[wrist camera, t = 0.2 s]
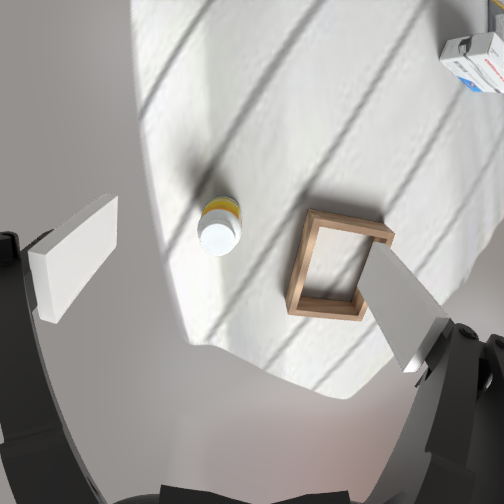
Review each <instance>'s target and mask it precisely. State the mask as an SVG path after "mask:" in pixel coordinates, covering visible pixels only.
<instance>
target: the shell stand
mask: <svg viewBox="0 0 504 504" xmlns="http://www.w3.org/2000/svg"><path fill="white" fill-rule="evenodd" d="M320 226H321V227H326V228H332V229H337V230H343V231H348V232H354V233H359V234H364V235H370V236H375V237H374V240H373V242H379V243H384V244H386V245H387V246H388V247H389V248H390V247H391V244H392V241H393V238H394V236H395V233H394V232H393V231H392V230H391V229H389V228H388V227H387V226H386V225H385V224H383V223H378V222H373V221H369V220H364V219H359V218H354V217H349V216H344V215H339V214H334V213H329V212H323V211H318V210H313V209H308V212H307V217H306V221H305V225H304V229H303V233H302V237H301V241H300V245H299V249H298V253H297V257H296V260H295V264H294V268H293V272H292V276H291V279H290V283H289V287H288V291H287V294H286V298H285V302H286V307H287V312H288V315H297V316H307V317H317V318H328V319H339V320H351V321H362V319H363V317H364V314H365V312H366V309H367V307H368V305H367V303H366V301H365V300H364V298H363V296H362V294H361V293H360V291H359V289H358V287H357V288H356V291H355V294H354V296H353V299H352V301H351V302H346V301H337V300H328V299H319V298H310V297H301V296H300V295H301V291H302V288H303V285H304V281H305V278H306V274H307V271H308V267H309V264H310V260H311V256H312V253H313V249H314V245H315V242H316V238H317V234H318V231H319V227H320ZM372 245H373V243H372ZM371 248H372V246H371ZM370 250H371V249H370ZM369 253H370V252H369ZM368 256H369V255H368ZM367 259H368V258H367ZM366 261H367V260H366ZM365 264H366V263H365ZM364 267H365V266H364Z"/></svg>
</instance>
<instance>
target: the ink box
mask: <svg viewBox="0 0 504 504" xmlns="http://www.w3.org/2000/svg"><path fill="white" fill-rule="evenodd" d="M439 60H440V62H441V63H443V64H444V65H445V66H446V67H447V68H448V69H450V70H451V71H452V72H453V73H454V74H455V75H456V76H457V77H459V78H460V79H461V80H462V81H463V82H464V83H465V84H466V85H467V86H468V87H469V88H470V89H471V90H472V91H477V92H496V93H504V42H503V41H502V40H501V39H500V38H499V36H498V35H497V34H496V33H495V32H488V33H482V34H476V35H471V36H466V37H461V38H456V39H452V40H447V42H446V45H445V47H444V49H443V51H442V54H441V56H440V58H439Z"/></svg>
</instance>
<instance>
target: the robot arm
mask: <svg viewBox="0 0 504 504" xmlns="http://www.w3.org/2000/svg"><path fill="white" fill-rule="evenodd" d="M117 206H118V196H117V195H110V194H103V195H102V196H100V197H99V198H97V199H96V200H94V201H93V202H91V203H90V204H89V205H87V206H86V207H84V208H83V209H82V210H80V211H79V212H77V213H76V214H75V215H73V216H72V217H71V218H69V219H68V220H66V221H65V222H64V223H62V224H61V225H60V226H58V227H57V228H56V229H52V230H50V231H47V232H45V233H43V234H42V235H41V236H39V237H38V238H37V240H36V239H35V240H34V241H33V242H32V243H31V244H29V245H28V246H26V247H25V248H24V249H23V250H22V251H20V247H19V238H18V235H17V234H16V233H14V232H9V231H7V232H0V423H1V428H2V432H3V436H4V443H2V444H0V454H1V459H2V463H3V466H4V469H5V472H6V475H7V478H8V481H9V484H10V487H11V490H12V493H13V495H14V498H15V500H16V503H17V504H107V502H106V501H105V499H104V497H103V496H102V494H101V492H100V491H99V489H98V487H97V486H96V484H95V483H94V481H93V479H92V477H91V476H90V474H89V472H88V470H87V468H86V466H85V464H84V462H83V460H82V458H81V456H80V454H79V452H78V450H77V447H76V445H75V443H74V441H73V439H72V436H71V434H70V432H69V429H68V427H67V425H66V422H65V420H64V417H63V415H62V412H61V410H60V407H59V404H58V402H57V399H56V397H55V393H54V391H53V388H52V385H51V382H50V379H49V375H48V372H47V369H46V366H45V362H44V359H43V355H42V352H41V348H40V344H39V340H38V336H37V332H36V328H35V324H34V319H33V315H32V311H33V310H34V309H35V308H36V307H38V312H39V316H40V319H42V320H45V321H49V322H52V323H55V324H57V323H58V321H59V320H60V318H61V317H62V315H63V314H64V313H65V311H66V310H67V309H68V307H69V306H70V305H71V303H72V302H73V300H74V299H75V298H76V296H77V295H78V294H79V292H80V291H81V290H82V289H83V287H84V286H85V285H86V283H87V282H88V281H89V279H90V278H91V277H92V276H93V274H94V273H95V272H96V271H97V269H98V268H99V267H100V266H101V264H102V263H103V262H104V261H105V259H106V258H107V257H108V256H109V254H110V253H111V252H112V251H113V250H114V248H115V247H116V236H117V234H116V233H117ZM357 287H358V289H359V291H360V293H361V294H362V296H363V298H364V300H365V301H366V303H367V305H368V307H369V309H370V310H371V312H372V314H373V316H374V318H375V319H376V321H377V323H378V325H379V327H380V329H381V331H382V332H383V334H384V336H385V338H386V340H387V342H388V344H389V346H390V348H391V349H392V351H393V353H394V355H395V357H396V359H397V361H398V363H399V365H400V367H401V369H402V371H403V372H417V371H418V369H419V368H420V367H421V365H422V364H423V362H424V361H425V362H426V363H427V365H428V368H427V370H426V371H425V372H424V374H423V375H422V377H421V378H420V380H419V381H418V382H417V384H416V385H415V387H418V385H420V386H419V389H418V391H417V394H416V397H415V400H414V402H413V405H412V408H411V411H410V413H409V415H408V418H407V420H406V423H405V425H404V428H403V430H402V432H401V435H400V437H399V439H398V441H397V443H396V446H395V448H394V450H393V452H392V454H391V456H390V458H389V460H388V462H387V464H386V467H385V469H384V470H383V472H382V474H381V476H380V478H379V480H378V482H377V484H376V486H375V487H374V489H373V491H372V493H371V494H370V496H369V497H368V498H367V500H366V501H365V502H364V503H359V502H355V501H350V498H349V493H348V491H340V492H331V493H320V494H306V495H303V496H300V497H296V498H293V499H289V500H285V501H281V502H276V503H272V504H504V337H502V336H499V335H496V334H492V335H491V336H490V338H489V339H488V341H487V343H484V342H481V341H479V338H478V336H477V334H476V333H475V332H474V331H473V330H472V329H471V328H470V327H468V326H466V325H464V324H460V323H457V324H454V322H453V321H452V320H451V318H450V317H449V316H448V315H447V313H446V312H445V311H444V310H443V309H442V307H441V306H440V305H439V304H438V302H437V301H436V300H435V299H434V298H433V297H432V295H431V294H430V293H429V292H428V291H427V289H426V288H425V287H424V286H423V285H422V284H421V282H420V281H419V280H418V279H417V278H416V277H415V276H414V274H413V273H412V272H411V271H410V270H409V269H408V268H407V267H406V265H405V264H404V263H403V262H402V261H401V260H400V259H399V258H398V257H397V256H396V254H395V253H394V252H393V251H392V250H391V249H390V248H389V247H388V246H387V245H386V244H384V243H379V242H373V245H372V248H371V250H370V253H369V256H368V259H367V261H366V264H365V267H364V269H363V272H362V274H361V277H360V279H359V282H358V285H357ZM491 380H492V381H491ZM490 381H491V384H490V386H489V387H488V388H486V386H487V385H488V384H489V382H490ZM114 504H250V503H246V502H242V501H239V500H235V499H231V498H228V497H225V496H221V495H218V494H215V493H212V492H207V491H198V490H191V489H184V488H178V487H171V486H166V485H161V488H160V494H147V495H139V496H135V497H130V498H127V499H124V500H121V501H118V502H116V503H114Z"/></svg>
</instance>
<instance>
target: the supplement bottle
mask: <svg viewBox="0 0 504 504" xmlns="http://www.w3.org/2000/svg"><path fill="white" fill-rule="evenodd" d="M197 231H198V237H199V239H200V243H201V246H202V248H203V249H204V250H205V251H206V252H207V253H209V254H211V255H214V256H222V255H225V254H227V253H228V252H230V251H231V250H232V248H233V247H234V246H235V245H236V244H237V243H238V241H239V240H240V237H241V232H242V211H241V208H240V206H239V205H238V203H237V202H236V201H234V200H233V199H231V198H228V197H223V196H222V197H216V198H214V199H212V200H211V201H210V202H209V203H208V204H207V205H206V207H205V209H204V211H203V214H202V216H201V219H200V221H199V224H198V229H197Z"/></svg>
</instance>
